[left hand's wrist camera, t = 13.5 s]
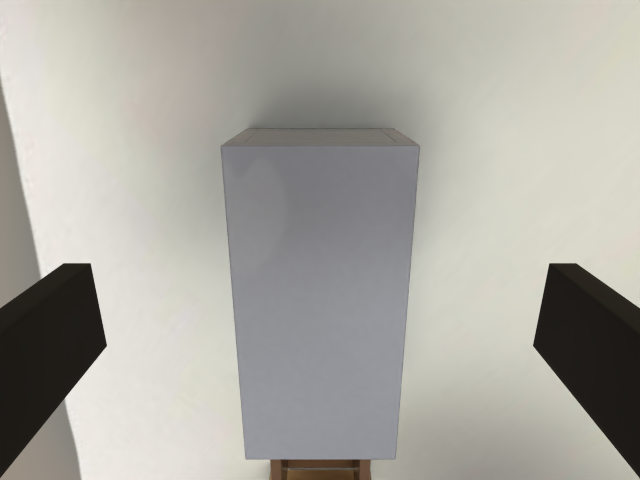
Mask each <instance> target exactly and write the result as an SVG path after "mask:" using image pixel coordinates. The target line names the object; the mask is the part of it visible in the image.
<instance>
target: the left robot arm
mask: <svg viewBox="0 0 640 480" xmlns="http://www.w3.org/2000/svg"><path fill="white" fill-rule="evenodd" d="M106 346H107V344H106V339H105V334H104V329H103V324H102V319H101V314H100V309H99V304H98V299H97V293H96V288H95V283H94V278H93V273H92V268H91V263H64V264H62V265H61V266H59V267H58V268H57V269H55V270H54V271H52V272H51V273H50V274H48V275H47V276H45V277H44V278H43V279H41V280H40V281H38V282H37V283H35V284H34V285H33V286H31V287H30V288H28V289H27V290H26V291H24V292H23V293H21V294H20V295H19V296H17V297H16V298H14V299H13V300H11V301H10V302H9V303H7V304H6V305H4V306H3V307H2V308H0V478H1V476H2V475H3V474H4V473H5V471H6V470H7V469H8V468H9V466H10V465H11V464H12V463H13V461H14V460H15V459H16V458H17V457H18V455H19V454H20V453H21V452H22V450H23V449H24V448H25V447H26V445H27V444H28V443H29V442H30V440H31V439H32V438H33V437H34V435H35V434H36V433H37V432H38V431H39V429H40V428H41V427H42V426H43V424H44V423H45V422H46V421H47V419H48V418H49V417H50V416H51V414H52V413H53V412H54V411H55V409H56V408H57V407H58V406H59V405H60V403H61V402H62V401H63V400H64V398H65V397H66V396H67V395H68V393H69V392H70V391H71V390H72V388H73V387H74V386H75V385H76V384H77V382H78V381H79V380H80V379H81V377H82V376H83V375H84V374H85V372H86V371H87V370H88V369H89V367H90V366H91V365H92V364H93V362H94V361H95V360H96V359H97V358H98V356H99V355H100V354H101V353H102V351H103V350H104V349H105V348H106ZM533 346H534V348H535V349H536V350H537V351H538V353H539V354H540V355H541V356H542V358H543V359H544V360H545V361H546V362H547V364H548V365H549V366H550V367H551V369H552V370H553V371H554V372H555V374H556V375H557V376H558V377H559V379H560V380H561V381H562V382H563V384H564V385H565V386H566V387H567V388H568V390H569V391H570V392H571V393H572V395H573V396H574V397H575V398H576V400H577V401H578V402H579V403H580V405H581V406H582V407H583V408H584V410H585V411H586V412H587V413H588V414H589V416H590V417H591V418H592V419H593V421H594V422H595V423H596V424H597V426H598V427H599V428H600V429H601V431H602V432H603V433H604V434H605V435H606V437H607V438H608V439H609V440H610V442H611V443H612V444H613V445H614V447H615V448H616V449H617V450H618V452H619V453H620V454H621V455H622V457H623V458H624V459H625V460H626V461H627V463H628V464H629V465H630V466H631V468H632V469H633V470H634V471H635V473H636V474H637V475H638V476H639V478H640V308H638V307H637V306H636V305H634V304H633V303H631V302H630V301H629V300H627V299H626V298H624V297H623V296H622V295H620V294H619V293H617V292H616V291H614V290H613V289H612V288H610V287H609V286H607V285H606V284H605V283H603V282H602V281H600V280H599V279H597V278H596V277H595V276H593V275H592V274H590V273H589V272H588V271H586V270H585V269H583V268H582V267H581V266H579V265H578V264H576V263H549V268H548V273H547V278H546V283H545V288H544V293H543V299H542V304H541V309H540V314H539V319H538V324H537V329H536V334H535V339H534V344H533Z"/></svg>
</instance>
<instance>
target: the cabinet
mask: <svg viewBox="0 0 640 480" xmlns="http://www.w3.org/2000/svg"><path fill="white" fill-rule="evenodd" d="M419 151H420V146H419V145H418V144H416V143H415V142H414V141H412V140H411V139H409V138H407V137H406V136H404V135H403V134H401V133H400V132H398V131H397V130H395V129H246V130H245V131H243V132H241V133H240V134H238V135H237V136H235V137H234V138H232V139H231V140H229V141H228V142H226V143H225V144H223V145H221V156H222V168H223V181H224V194H225V206H226V219H227V231H228V244H229V257H230V269H231V282H232V295H233V307H234V320H235V332H236V345H237V358H238V370H239V383H240V396H241V408H242V421H243V433H244V446H245V458H246V459H395V458H396V445H397V433H398V420H399V407H400V394H401V381H402V369H403V356H404V343H405V330H406V317H407V305H408V292H409V279H410V266H411V254H412V241H413V228H414V215H415V202H416V190H417V177H418V164H419Z"/></svg>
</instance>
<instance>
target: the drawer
mask: <svg viewBox="0 0 640 480" xmlns="http://www.w3.org/2000/svg"><path fill="white" fill-rule="evenodd" d="M270 461H271V472H270V480H371V473H370V459H270ZM288 467H353V470H288Z"/></svg>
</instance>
